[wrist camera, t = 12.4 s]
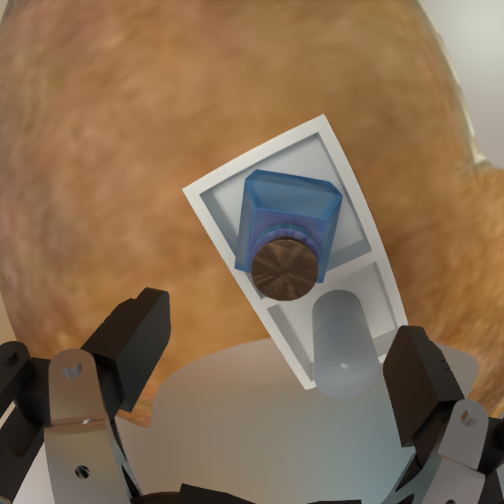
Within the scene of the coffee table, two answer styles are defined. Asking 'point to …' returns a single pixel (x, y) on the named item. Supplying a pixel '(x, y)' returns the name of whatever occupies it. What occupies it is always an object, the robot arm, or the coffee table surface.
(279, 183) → the perfume bottle
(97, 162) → the coffee table surface
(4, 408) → the robot arm
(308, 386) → the tray
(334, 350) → the grey rounded cylinder
